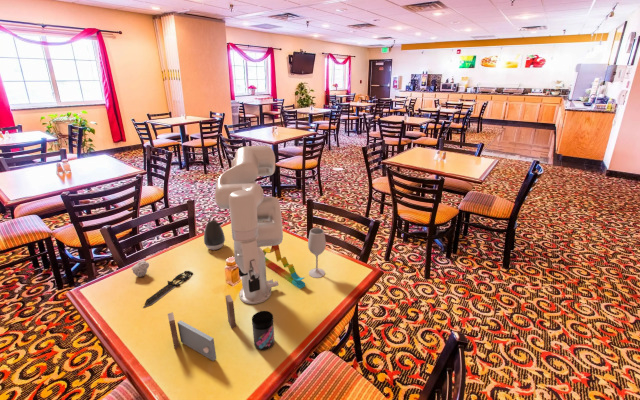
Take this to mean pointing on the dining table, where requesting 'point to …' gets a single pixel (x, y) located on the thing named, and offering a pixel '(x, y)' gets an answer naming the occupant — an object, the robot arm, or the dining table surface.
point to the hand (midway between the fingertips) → (249, 282)
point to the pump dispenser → (214, 235)
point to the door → (197, 340)
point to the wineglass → (316, 249)
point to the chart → (280, 271)
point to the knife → (167, 288)
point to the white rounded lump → (140, 268)
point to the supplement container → (263, 330)
